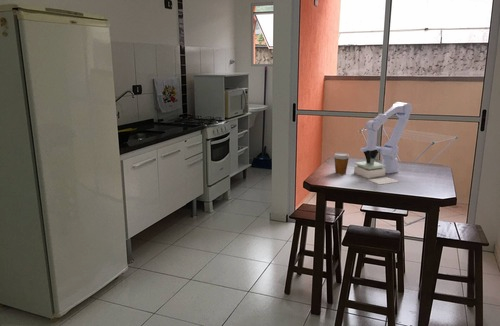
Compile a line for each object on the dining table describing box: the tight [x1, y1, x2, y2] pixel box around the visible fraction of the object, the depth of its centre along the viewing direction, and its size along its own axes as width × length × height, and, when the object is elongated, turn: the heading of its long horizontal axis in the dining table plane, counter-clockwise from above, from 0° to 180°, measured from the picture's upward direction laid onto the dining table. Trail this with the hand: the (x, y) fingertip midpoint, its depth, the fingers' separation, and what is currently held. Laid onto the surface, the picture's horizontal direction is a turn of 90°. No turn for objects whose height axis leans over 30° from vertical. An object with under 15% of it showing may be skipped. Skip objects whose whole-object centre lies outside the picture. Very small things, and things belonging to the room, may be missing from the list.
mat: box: [368, 176, 400, 186], centre depth 241 cm, size 14×10×1 cm
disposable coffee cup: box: [333, 152, 350, 175], centre depth 257 cm, size 10×10×12 cm
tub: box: [353, 165, 386, 179], centre depth 254 cm, size 13×13×4 cm
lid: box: [354, 158, 386, 170], centre depth 253 cm, size 13×13×5 cm
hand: (370, 162), depth 253 cm, fingers closed on lid, 2 cm apart
